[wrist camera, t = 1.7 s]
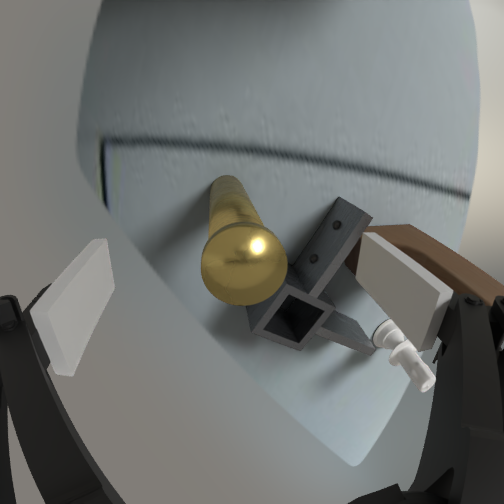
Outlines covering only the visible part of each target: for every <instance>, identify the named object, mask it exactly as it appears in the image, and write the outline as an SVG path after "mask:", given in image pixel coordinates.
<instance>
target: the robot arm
mask: <svg viewBox="0 0 504 504" xmlns="http://www.w3.org/2000/svg"><path fill="white" fill-rule="evenodd" d="M355 279H356V280H357V281H358V282H359V284H360V285H361V286H362V287H363V288H364V289H365V290H366V291H367V292H368V294H369V295H370V296H371V297H372V298H373V299H374V300H375V301H376V303H377V304H378V305H379V306H380V307H381V308H382V309H383V311H384V312H385V313H386V314H387V315H388V316H389V317H390V319H391V320H392V321H393V322H394V323H395V324H396V326H397V327H398V328H399V329H400V330H401V331H402V333H403V334H404V335H405V336H406V337H407V339H408V340H409V341H410V342H411V343H412V344H413V346H414V347H415V348H416V349H417V351H418V352H421V351H425V350H428V349H432V347H433V345H434V343H435V340H436V338H437V336H438V337H439V339H440V340H441V341H442V342H441V344H440V347H439V349H438V351H437V354H436V356H435V358H434V360H433V363H435V361H436V360H438V362H437V372H436V381H435V389H434V396H433V402H432V408H431V414H430V420H429V425H428V430H427V435H426V439H425V444H424V448H423V452H422V457H421V460H420V464H419V468H418V471H417V474H416V477H415V480H414V482H413V484H412V485H411V487H410V489H409V490H408V491H401V490H400V488H399V486H398V484H394V485H392V486H389V487H387V488H384V489H381V490H379V491H376V492H373V493H370V494H367V495H364V496H361V497H358V498H357V499H355V500H353V501H351V502H350V503H348V504H504V349H503V350H502V349H501V345H502V343H503V341H504V296H499V295H498V296H496V297H495V300H494V302H493V305H492V306H485V303H484V301H483V300H482V299H480V298H479V297H477V296H475V295H472V294H467V293H463V294H460V295H458V294H457V293H456V292H454V291H453V290H452V289H451V288H450V287H448V286H447V285H446V284H445V283H443V282H442V281H441V280H439V279H438V278H437V277H436V276H434V275H433V274H432V273H430V272H429V271H428V270H426V269H425V268H424V267H422V266H421V265H420V264H418V263H417V262H416V261H414V260H413V259H412V258H410V257H409V256H407V255H406V254H405V253H403V252H402V251H401V250H399V249H398V248H396V247H395V246H393V245H392V244H391V243H389V242H388V241H386V240H385V239H383V238H382V237H381V236H379V235H378V234H376V233H375V232H363V235H362V241H361V248H360V254H359V260H358V266H357V272H356V277H355ZM114 290H115V284H114V279H113V273H112V268H111V262H110V256H109V249H108V243H107V239H93V240H92V241H91V242H90V243H89V244H88V245H87V246H86V247H85V248H84V249H83V250H82V252H81V253H80V254H79V255H78V256H77V257H76V258H75V259H74V260H73V261H72V262H71V263H70V264H69V266H68V267H67V268H66V269H65V270H64V271H63V272H62V273H61V274H60V275H59V277H58V278H57V279H56V280H55V281H54V282H53V283H52V284H49V285H48V286H46V287H45V288H43V289H42V290H41V291H40V293H38V295H37V297H35V298H34V299H33V300H32V302H31V303H30V304H29V306H27V308H26V309H25V310H24V311H23V313H22V311H21V308H20V305H19V302H18V299H17V298H16V296H13V295H5V296H1V297H0V504H16V499H15V493H14V488H13V481H12V475H11V466H10V457H9V443H8V419H7V418H8V416H7V406H8V407H9V411H10V414H11V417H12V421H13V424H14V427H15V431H16V434H17V437H18V440H19V443H20V446H21V448H22V451H23V454H24V456H25V459H26V461H27V464H28V467H29V469H30V471H31V474H32V476H33V478H34V480H35V483H36V485H37V487H38V489H39V491H40V493H41V495H42V497H43V499H44V501H45V504H126V503H125V502H124V501H123V499H122V498H121V497H120V496H119V494H118V493H117V492H116V490H115V489H114V488H113V486H112V485H111V484H110V482H109V481H108V479H107V478H106V477H105V475H104V474H103V472H102V471H101V469H100V468H99V466H98V465H97V463H96V462H95V461H94V459H93V457H92V456H91V454H90V453H89V451H88V449H87V448H86V446H85V444H84V443H83V441H82V439H81V438H80V436H79V434H78V432H77V431H76V429H75V427H74V425H73V423H72V421H71V420H70V418H69V416H68V414H67V412H66V410H65V408H64V406H63V404H62V402H61V400H60V398H59V396H58V394H57V391H56V389H55V387H54V385H53V383H52V380H51V378H50V376H49V374H48V372H47V368H48V366H49V364H50V363H51V365H52V367H53V369H54V371H55V373H56V374H59V375H65V376H73V375H74V373H75V370H76V368H77V365H78V363H79V361H80V359H81V356H82V354H83V352H84V350H85V348H86V346H87V344H88V341H89V339H90V337H91V335H92V333H93V331H94V328H95V327H96V325H97V322H98V321H99V319H100V317H101V314H102V313H103V311H104V309H105V307H106V305H107V303H108V301H109V299H110V297H111V295H112V293H113V291H114Z"/></svg>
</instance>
